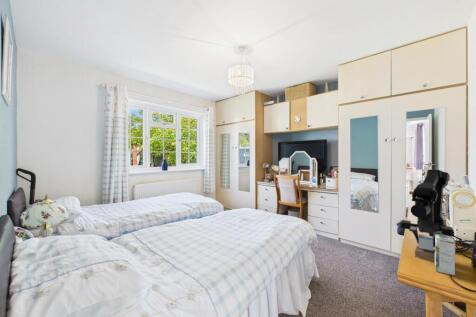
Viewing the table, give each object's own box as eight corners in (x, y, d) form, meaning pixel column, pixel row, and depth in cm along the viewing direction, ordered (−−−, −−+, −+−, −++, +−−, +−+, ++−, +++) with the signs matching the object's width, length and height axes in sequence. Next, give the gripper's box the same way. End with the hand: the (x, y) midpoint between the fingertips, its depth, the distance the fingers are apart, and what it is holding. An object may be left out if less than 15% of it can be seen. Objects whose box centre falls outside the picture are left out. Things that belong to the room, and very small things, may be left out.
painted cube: (418, 244, 103) (418, 234, 103) (432, 246, 100) (432, 236, 100) (418, 247, 99) (418, 237, 99) (433, 250, 96) (433, 240, 96)
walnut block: (417, 252, 105) (417, 245, 104) (436, 257, 99) (436, 249, 99) (415, 257, 100) (415, 250, 100) (435, 262, 95) (435, 255, 95)
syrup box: (434, 265, 92) (434, 233, 92) (453, 269, 88) (453, 236, 88) (435, 271, 88) (435, 237, 87) (456, 276, 84) (455, 240, 83)
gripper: (399, 214, 99) (399, 246, 100) (455, 221, 87) (456, 258, 87) (400, 208, 107) (401, 238, 108) (452, 214, 95) (452, 248, 96)
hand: (425, 245), depth 99 cm, fingers closed on painted cube, 5 cm apart
